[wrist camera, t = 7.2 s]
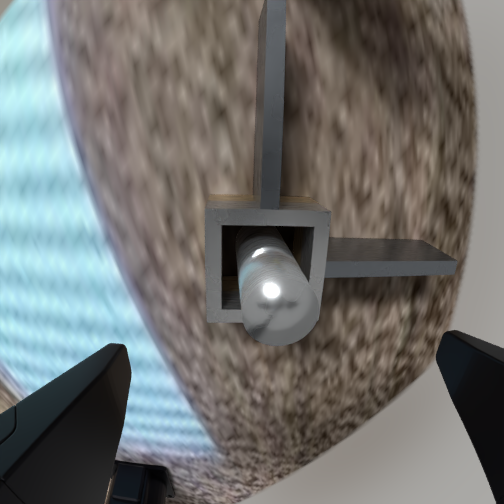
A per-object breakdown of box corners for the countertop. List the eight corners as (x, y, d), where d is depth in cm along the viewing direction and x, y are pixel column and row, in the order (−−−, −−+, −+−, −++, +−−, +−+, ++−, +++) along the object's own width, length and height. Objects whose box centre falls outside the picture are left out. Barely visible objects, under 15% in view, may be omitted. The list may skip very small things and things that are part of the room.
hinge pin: (280, 265, 19) (314, 344, 11) (234, 265, 18) (241, 346, 11) (282, 221, 18) (323, 277, 10) (235, 220, 18) (242, 277, 10)
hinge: (413, 283, 20) (444, 310, 16) (210, 287, 19) (206, 322, 15) (432, 56, 15) (470, 44, 11) (216, 19, 14) (214, -12, 10)
